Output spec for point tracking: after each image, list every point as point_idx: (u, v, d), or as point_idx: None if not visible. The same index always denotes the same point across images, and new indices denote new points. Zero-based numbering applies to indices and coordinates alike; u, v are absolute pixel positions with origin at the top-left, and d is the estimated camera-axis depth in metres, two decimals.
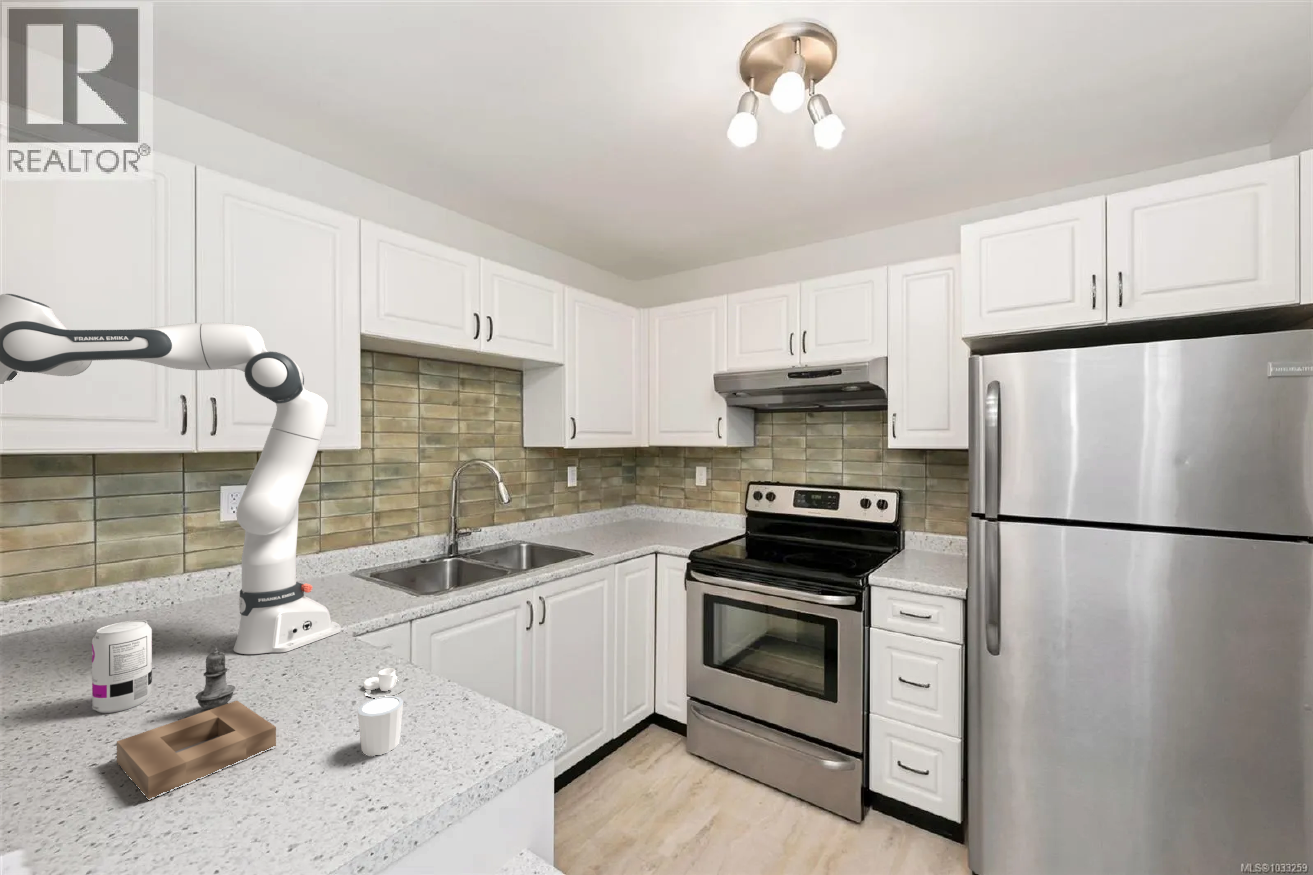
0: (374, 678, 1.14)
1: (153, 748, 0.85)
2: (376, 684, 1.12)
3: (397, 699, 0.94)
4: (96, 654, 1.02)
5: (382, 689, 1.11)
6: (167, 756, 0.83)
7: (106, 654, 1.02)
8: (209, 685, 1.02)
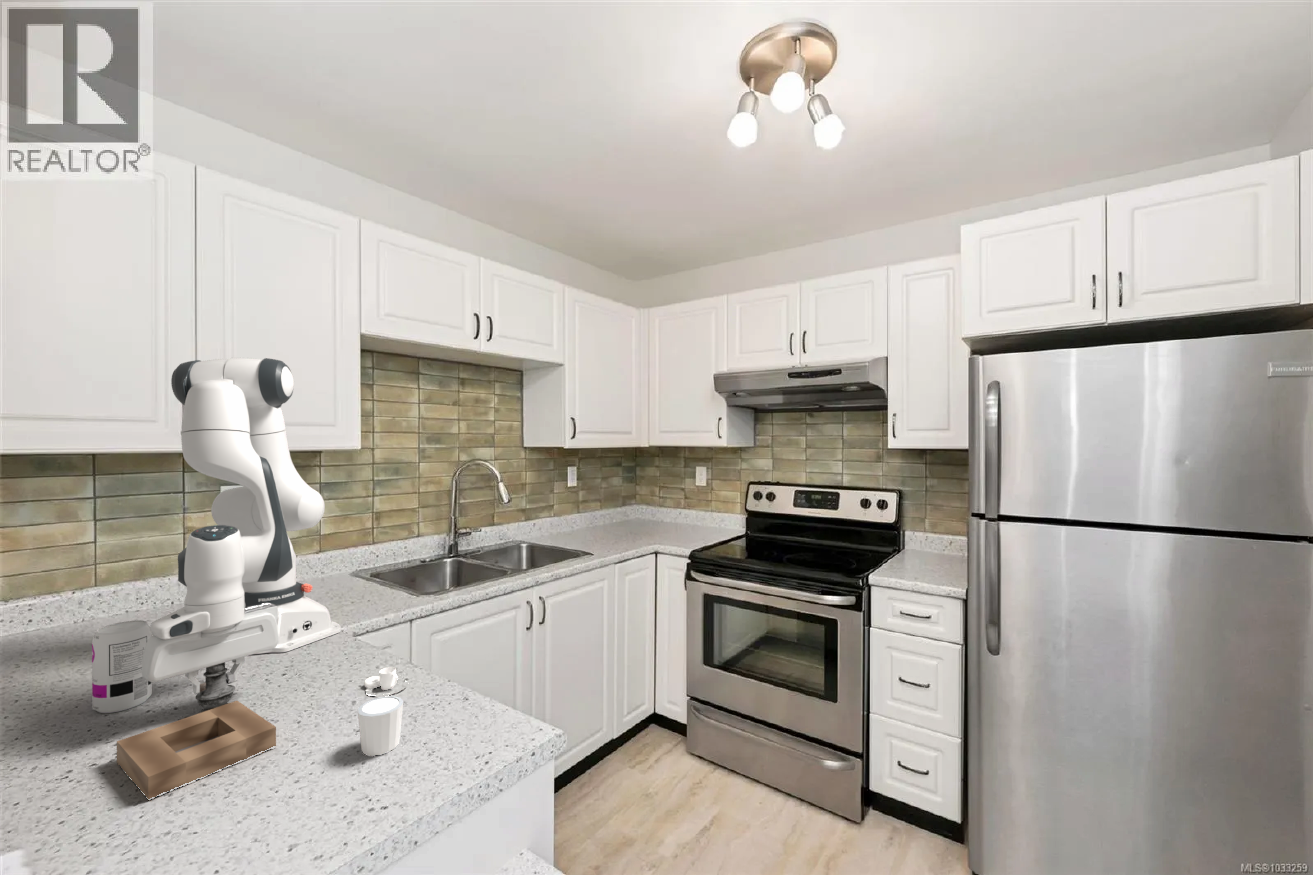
0: (375, 677, 1.15)
1: (153, 748, 0.85)
2: (377, 683, 1.13)
3: (397, 699, 0.94)
4: (96, 654, 1.02)
5: (383, 688, 1.11)
6: (167, 756, 0.83)
7: (106, 654, 1.02)
8: (209, 685, 1.02)
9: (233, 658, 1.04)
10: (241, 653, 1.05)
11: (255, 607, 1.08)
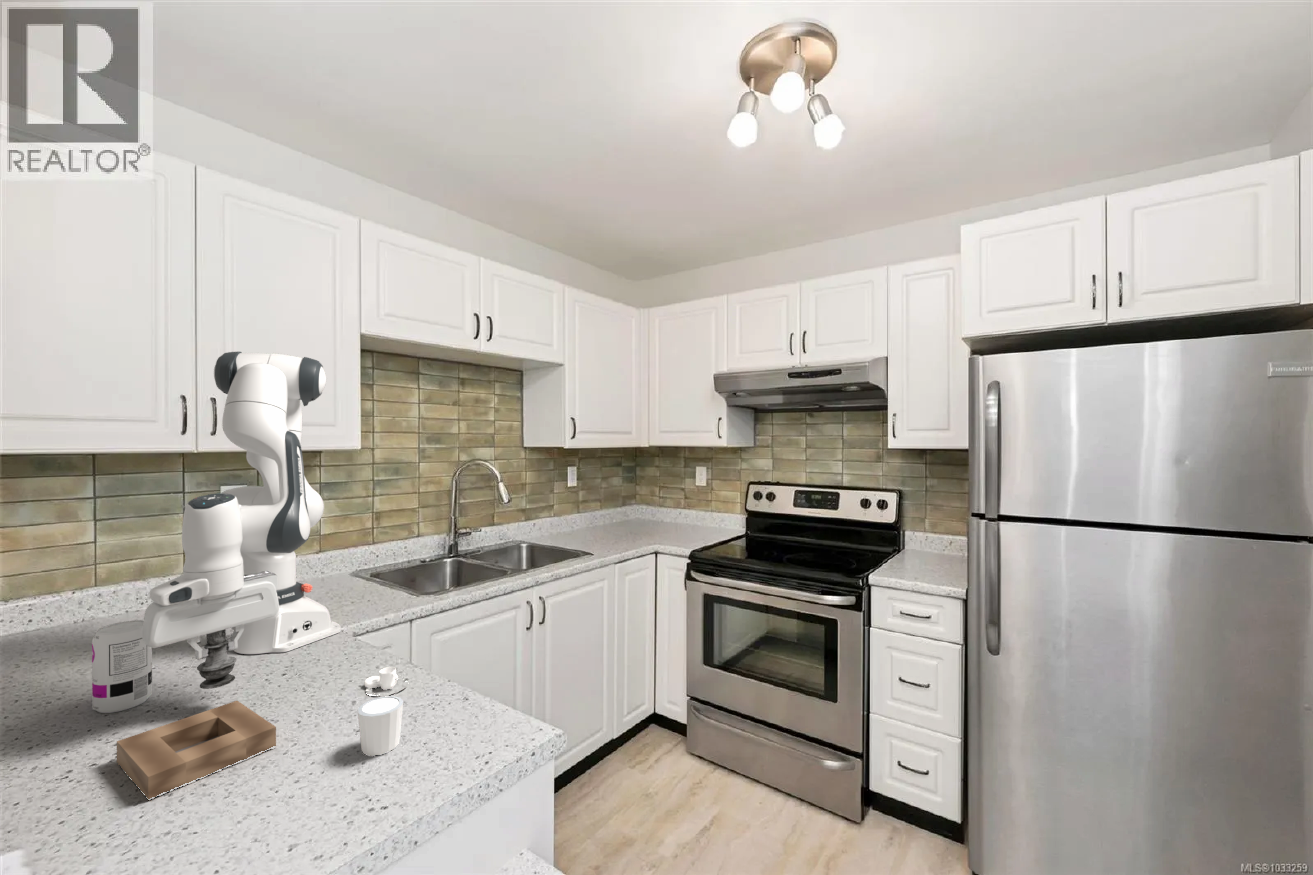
0: (375, 677, 1.15)
1: (153, 748, 0.85)
2: (377, 683, 1.13)
3: (397, 699, 0.94)
4: (96, 654, 1.02)
5: (383, 688, 1.12)
6: (167, 756, 0.83)
7: (106, 654, 1.02)
8: (210, 656, 1.02)
9: (233, 625, 1.04)
10: (241, 620, 1.05)
11: (254, 575, 1.08)
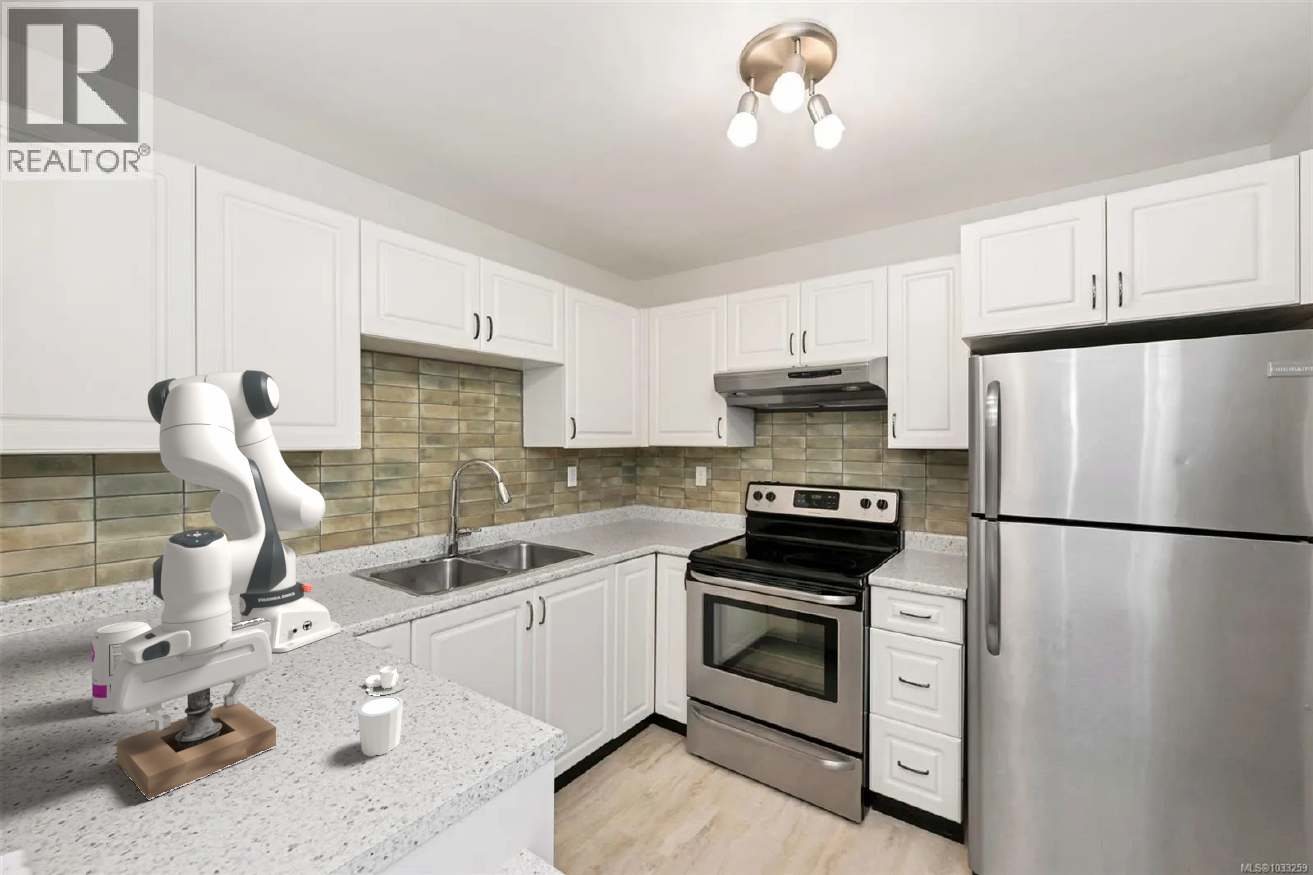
0: (376, 676, 1.15)
1: (153, 748, 0.85)
2: (377, 682, 1.13)
3: (397, 699, 0.94)
4: (96, 654, 1.02)
5: (383, 687, 1.12)
6: (167, 756, 0.83)
7: (106, 654, 1.02)
8: (191, 723, 0.88)
9: (219, 683, 0.90)
10: (228, 677, 0.91)
11: (244, 623, 0.94)
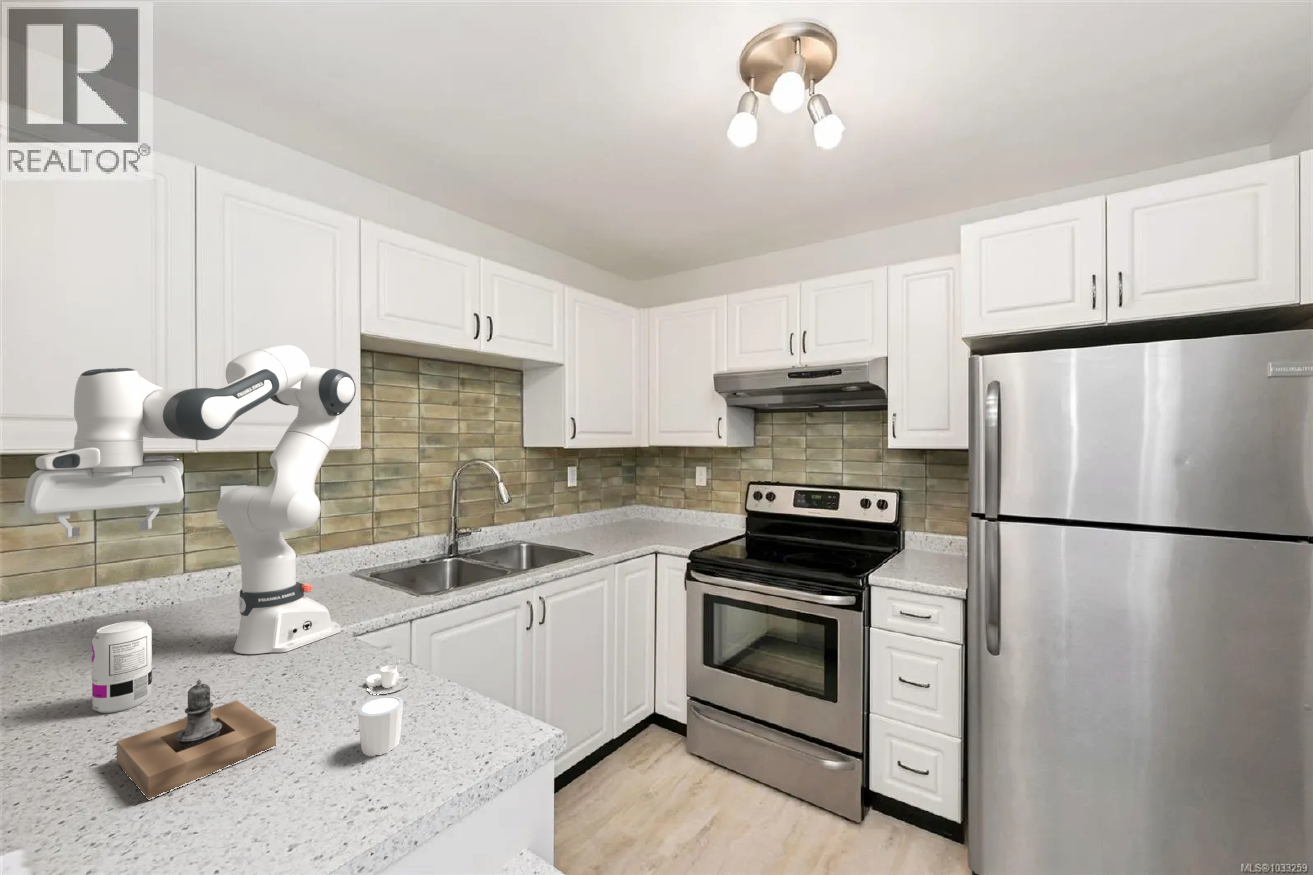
0: (376, 675, 1.15)
1: (153, 748, 0.85)
2: (378, 681, 1.13)
3: (397, 699, 0.94)
4: (96, 654, 1.02)
5: (384, 686, 1.12)
6: (167, 756, 0.83)
7: (106, 654, 1.02)
8: (192, 723, 0.88)
9: (129, 505, 1.00)
10: (139, 501, 1.01)
11: (156, 457, 1.04)
